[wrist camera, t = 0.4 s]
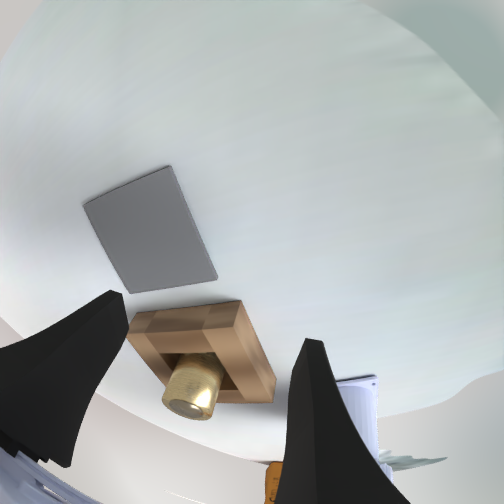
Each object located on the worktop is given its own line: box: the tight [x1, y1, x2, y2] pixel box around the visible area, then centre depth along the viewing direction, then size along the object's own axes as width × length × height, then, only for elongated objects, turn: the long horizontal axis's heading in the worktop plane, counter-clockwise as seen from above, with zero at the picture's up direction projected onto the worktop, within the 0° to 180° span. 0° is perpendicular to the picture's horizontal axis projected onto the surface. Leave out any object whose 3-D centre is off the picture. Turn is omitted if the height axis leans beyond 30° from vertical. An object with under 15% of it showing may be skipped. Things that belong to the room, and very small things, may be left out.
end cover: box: [162, 352, 225, 420], centre depth 23 cm, size 4×4×7 cm
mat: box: [83, 166, 218, 294], centre depth 21 cm, size 9×9×1 cm
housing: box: [126, 300, 276, 403], centre depth 25 cm, size 11×11×3 cm
